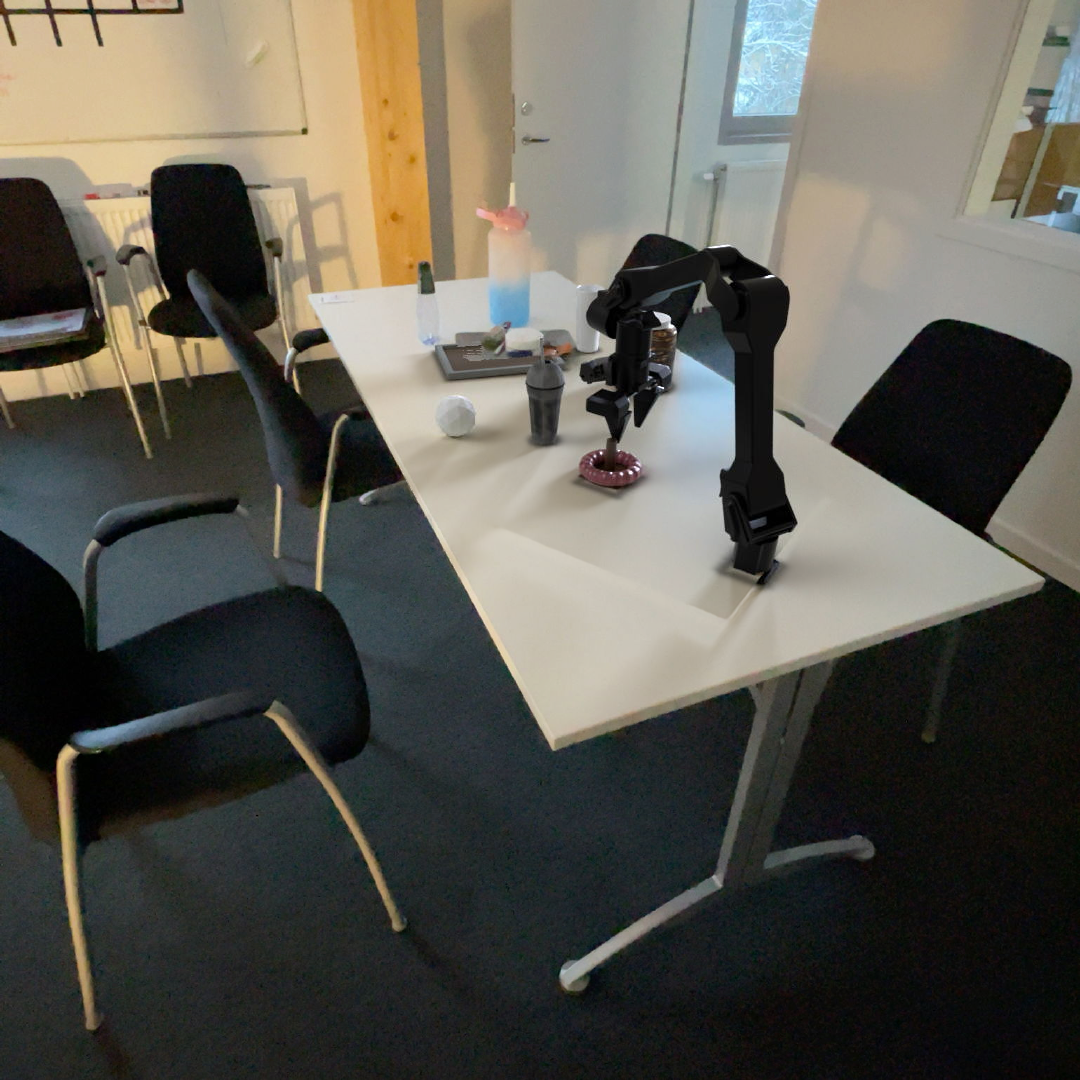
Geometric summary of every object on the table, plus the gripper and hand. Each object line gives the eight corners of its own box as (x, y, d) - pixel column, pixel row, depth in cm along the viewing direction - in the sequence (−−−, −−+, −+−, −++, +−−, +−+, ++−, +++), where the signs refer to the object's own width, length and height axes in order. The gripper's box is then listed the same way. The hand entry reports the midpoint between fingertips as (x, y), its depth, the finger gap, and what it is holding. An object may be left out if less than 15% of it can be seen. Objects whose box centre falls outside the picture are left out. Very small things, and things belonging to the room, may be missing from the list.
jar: (666, 374, 170) (673, 308, 162) (675, 394, 161) (683, 326, 152) (614, 374, 170) (619, 308, 162) (621, 394, 160) (626, 325, 152)
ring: (621, 495, 122) (622, 482, 121) (566, 476, 128) (567, 463, 126) (652, 470, 130) (653, 458, 128) (599, 453, 135) (600, 441, 134)
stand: (617, 496, 125) (620, 455, 120) (577, 482, 128) (579, 441, 124) (640, 477, 130) (644, 437, 126) (601, 464, 134) (603, 425, 130)
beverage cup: (570, 439, 142) (575, 336, 131) (545, 452, 138) (547, 346, 126) (543, 428, 146) (544, 327, 135) (517, 439, 142) (516, 336, 130)
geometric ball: (464, 450, 144) (468, 430, 136) (426, 432, 143) (428, 412, 136) (480, 419, 147) (485, 398, 139) (443, 402, 146) (446, 380, 139)
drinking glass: (583, 343, 187) (586, 282, 179) (606, 349, 184) (610, 287, 176) (568, 350, 183) (570, 288, 174) (591, 356, 179) (594, 293, 171)
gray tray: (434, 344, 180) (553, 335, 187) (434, 351, 181) (553, 341, 188) (447, 373, 165) (576, 362, 172) (448, 380, 166) (576, 368, 172)
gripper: (620, 322, 130) (615, 404, 139) (559, 355, 118) (558, 442, 127) (677, 335, 125) (668, 420, 134) (619, 371, 112) (613, 461, 122)
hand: (626, 434), depth 129 cm, fingers open, 7 cm apart
